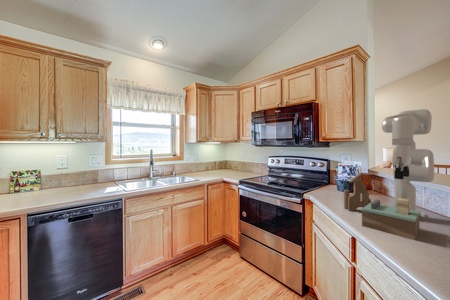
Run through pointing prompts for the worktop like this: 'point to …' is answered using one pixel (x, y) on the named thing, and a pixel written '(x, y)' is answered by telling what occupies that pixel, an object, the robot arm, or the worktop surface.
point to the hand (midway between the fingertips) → (401, 177)
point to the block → (403, 206)
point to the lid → (390, 211)
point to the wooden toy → (356, 195)
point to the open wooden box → (391, 225)
